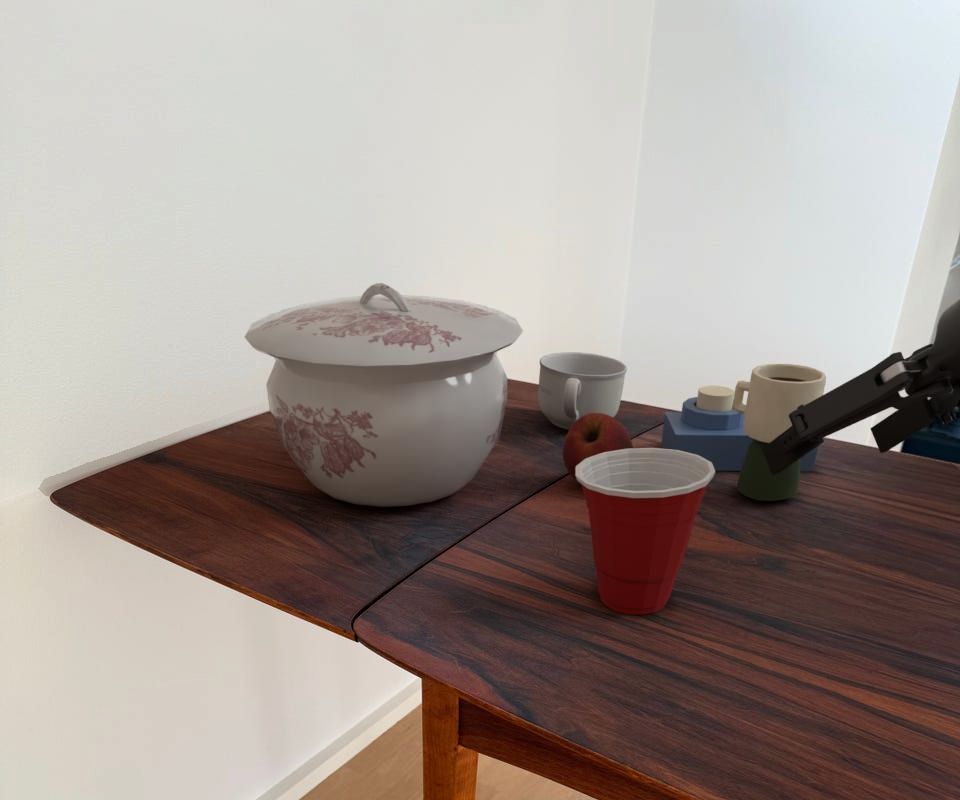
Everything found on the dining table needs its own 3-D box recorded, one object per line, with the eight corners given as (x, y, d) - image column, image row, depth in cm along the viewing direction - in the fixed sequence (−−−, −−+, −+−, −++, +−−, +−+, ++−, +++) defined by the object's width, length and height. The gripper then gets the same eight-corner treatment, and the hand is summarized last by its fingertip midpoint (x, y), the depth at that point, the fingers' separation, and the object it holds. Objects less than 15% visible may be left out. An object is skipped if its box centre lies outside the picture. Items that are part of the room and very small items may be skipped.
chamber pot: (506, 545, 83) (510, 318, 72) (228, 529, 86) (191, 309, 75) (528, 444, 107) (534, 261, 96) (309, 434, 110) (290, 256, 99)
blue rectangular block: (793, 445, 106) (802, 396, 103) (813, 471, 99) (824, 419, 96) (660, 444, 107) (666, 395, 104) (671, 470, 100) (677, 418, 96)
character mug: (829, 500, 92) (858, 376, 85) (797, 520, 88) (824, 391, 81) (737, 473, 99) (757, 355, 92) (703, 490, 95) (721, 369, 88)
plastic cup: (610, 557, 81) (621, 431, 75) (717, 593, 76) (739, 459, 69) (541, 602, 74) (547, 467, 68) (654, 645, 68) (671, 502, 62)
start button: (727, 403, 102) (730, 385, 101) (735, 414, 99) (738, 395, 98) (693, 402, 102) (695, 385, 101) (699, 413, 99) (702, 395, 98)
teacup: (555, 406, 119) (558, 346, 115) (632, 417, 115) (638, 355, 111) (513, 437, 109) (515, 372, 105) (596, 451, 105) (601, 384, 101)
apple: (546, 485, 96) (548, 413, 92) (589, 466, 101) (594, 397, 96) (600, 504, 91) (606, 430, 87) (643, 483, 96) (651, 412, 92)
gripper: (910, 386, 60) (735, 508, 80) (1142, 347, 69) (933, 465, 89) (870, 290, 61) (707, 433, 81) (1103, 264, 70) (905, 399, 90)
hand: (825, 450), depth 85 cm, fingers open, 13 cm apart
